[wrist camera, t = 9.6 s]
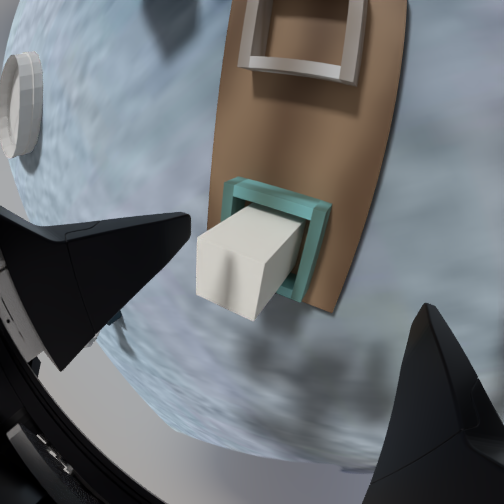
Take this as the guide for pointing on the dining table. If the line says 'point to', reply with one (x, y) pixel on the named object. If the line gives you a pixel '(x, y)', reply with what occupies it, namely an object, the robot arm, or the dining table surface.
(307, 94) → the socket board
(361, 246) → the dining table surface
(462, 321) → the dining table surface
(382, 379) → the dining table surface
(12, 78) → the dish
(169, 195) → the dining table surface
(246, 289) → the plug
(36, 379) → the robot arm
